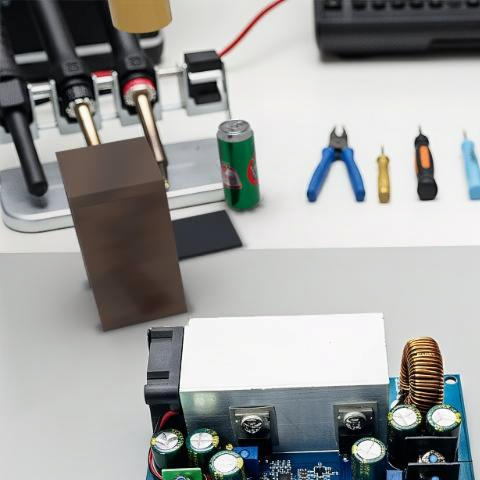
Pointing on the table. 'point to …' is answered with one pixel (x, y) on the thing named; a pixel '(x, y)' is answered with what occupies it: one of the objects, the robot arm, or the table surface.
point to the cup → (140, 15)
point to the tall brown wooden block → (124, 231)
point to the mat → (204, 234)
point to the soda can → (238, 164)
